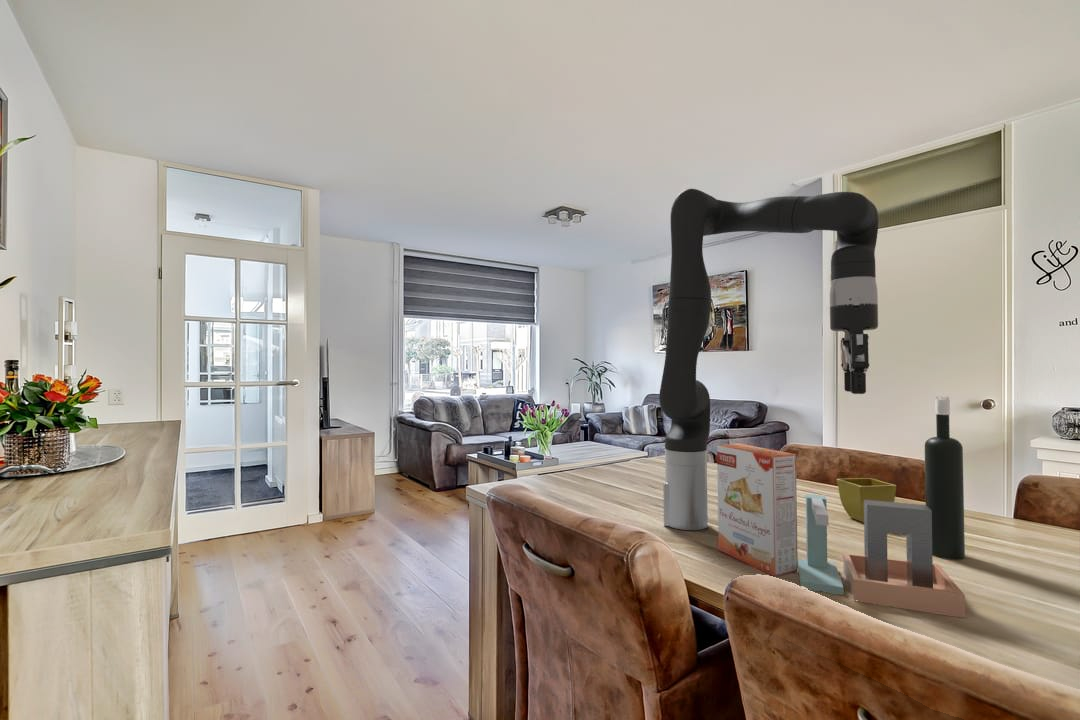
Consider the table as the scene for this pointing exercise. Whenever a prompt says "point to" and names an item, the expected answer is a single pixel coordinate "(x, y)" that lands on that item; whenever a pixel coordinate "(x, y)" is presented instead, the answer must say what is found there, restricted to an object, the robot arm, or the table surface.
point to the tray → (904, 588)
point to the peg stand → (818, 550)
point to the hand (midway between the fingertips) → (854, 392)
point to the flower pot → (863, 494)
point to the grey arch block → (904, 521)
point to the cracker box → (758, 507)
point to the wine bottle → (945, 487)
